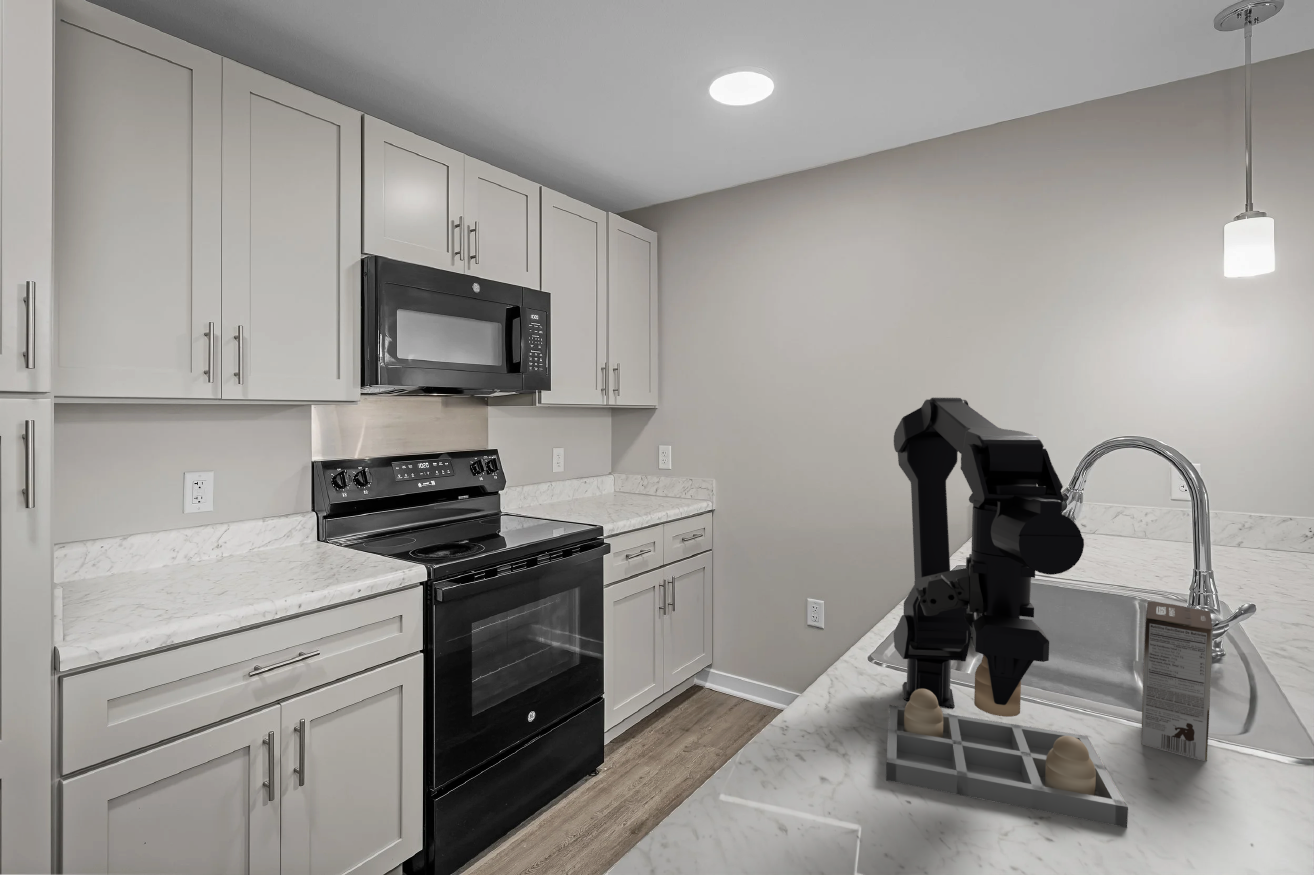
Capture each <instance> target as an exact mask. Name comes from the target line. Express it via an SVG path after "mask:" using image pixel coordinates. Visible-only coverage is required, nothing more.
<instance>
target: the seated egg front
mask: <svg viewBox="0 0 1314 875" xmlns="http://www.w3.org/2000/svg"><path fill="white" fill-rule="evenodd" d="M1095 783H1096V770H1095V766H1094V764H1093V762H1092V760H1091V759H1090V757H1089V752H1088V749H1087V747H1086V746H1085V745H1084V744H1083V742H1081V741H1080V740H1079V739H1077V738H1075V737H1072V736H1062V737H1060V738H1058V739H1057V740H1056V741H1055V743H1054V745H1053V748H1052V749H1051V750H1050V751H1049V753H1048V755H1047V757H1046V774H1045V787H1049V788H1055V789H1060V790H1066V791H1071V792H1077V793H1082V794H1087V795H1093V796H1095Z"/></svg>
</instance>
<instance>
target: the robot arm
mask: <svg viewBox="0 0 1314 875" xmlns="http://www.w3.org/2000/svg"><path fill="white" fill-rule="evenodd" d="M893 434H894V435H893V448H894V451H895V452H896V453H897V459H898V461H897V462H898V466H899V468H900V469H901V470H902V472H903V474H904V475H905V477H907V479H908V481H909V482H910V488H911V489H910V493H911V495H910V496H911V515H912V516H911V518H912V519H911V520H912V541H913V542H912V543H913V566H914V567H913V569H914V582H913V584H914V585H913V587H912V588H911V589H910V591H909V593H908V594H907V596H906V598H905V599H904V602H903V615H901V616H900V619H899V621H898V622H897V625H896V627H895V629H894V631H893V642H894V643H893V645H894V649H895V651H897V653H898V654H899V655H900V656H901V658H902V659H903V660H906V664H907V665H906V681H904V682H903V701H904V702H906V703H908V702H909V701H910V697H911V695H912V693H913V692H914V691H915V690H917V689H927V690H929V691H931V692H932V693H933V694H934V695H935V696H936V698H937V700H938V705H939V707H940V708H945V709H946V708H947V709H952V710H953V709H955V700H954V694H953V690H952V688H951V679H952V678H951V677H952V676H951V673H952V671H951V670H952V661H957V662H958V661H959V662H966V661H967V657H968V653H969V648H970V643H971V642H972V646H973V648H974V650H975V651H974V652H976V653H979V654H981V655H982V657H983V656H986V658H987V664H988V670H989V676H990V682H991V688H992V694H993V699H994V703H995V704H999V705H1006V704H1007V702H1008V701H1009V699H1010V697H1011V696H1012V694H1013V692H1014V691H1015V689H1016V687H1017V686H1018V684H1019V682H1020V681H1021V682H1022V680H1023V678H1024V676H1025V674H1026V673H1027V671H1029V669H1030V667H1031V665H1032V664H1033V662H1040V663H1041V662H1042V663H1044V662H1048V661H1050V660H1049V659H1050V657H1049V656H1050V640H1049V639H1048V637H1047V635H1046V634H1045V632H1044V630H1043V629H1041V627H1040V626H1039V625H1038V624H1036V622H1035V621H1033V619H1028V618H1035V607H1034V606H1033V604H1032V602H1031V594H1032V593H1031V592H1032V591H1031V590H1032V587H1031V586H1032V578H1033V579H1035V578H1036V572H1038V573H1040V574H1045V575H1048V576H1049V575H1058V574H1059V575H1060V574H1062V573H1065V572H1068V571H1069V570H1071V569H1072V568H1073V567H1074V566H1075V565H1076V564H1077V563H1078V562H1079V561H1080V560H1081V557H1082V556H1083V553H1084V548H1085V540H1084V537H1083V535H1082V532H1081V530H1080V528H1079V526H1078V524H1076V523H1075V522H1074V520H1072V519H1071V518H1070V517H1068V516H1066V515H1064V514H1062V513H1063V512H1062V510H1063V503H1064V495H1063V493H1062V489H1063V488H1064V485H1063V483H1062V482H1061V480H1060V477H1059V475H1058V474H1057V472H1056V469H1055V468H1054V465H1053V463H1052V461H1051V459H1050V458H1051V457H1050V455H1049V453H1048V450H1047V448H1046V447H1045V445H1044V444H1043V442H1042V440H1041V439H1040V438H1039V437H1038V436H1037V435H1034V434H1032V433H1028V432H1024V431H1020V430H1013V429H1006V428H1001V427H998V426H996V425H995V424H994V423H993V422H991V420H989V419H987V418H986V417H984V416H983V415H982V414H980V413H979V412H978V411H976V410H975V409H974V408H972V407H971V406H970V404H969V402H968V401H967V400H966V399H962V398H961V397H931V398H930V399H927V398H926V399H925V400H924V402H923V403H922V404H921V407H919V408H917V409H915V410H913V411H911V412H910V413H908V414H906V415H905V416H903V417H902V418H901V420H900V421H899V423H898V425H897V427H896V429H895V430H894V433H893ZM958 453H959V454H960V470H961V472H962V474H963V476H964V478H965V481H966V483H967V485H968V486H969V490H970V491H971V494H970V496H969V497H968V502H969V503H971V504H972V518H971V519H972V520H971V521H972V522H971V552H970V553H969V555H968V556H966V560H965V561H966V562H965V567H962V568H957V569H952V570H951V560H950V543H949V542H950V540H949V539H950V536H949V521H948V520H949V518H948V517H949V515H948V500H947V480H948V478H949V476H950V475H951V473H952V471H953V470H954V468H955V467H956V464H957V463H958ZM967 610H968V612H969V613H968V612H967ZM1021 617H1024V618H1021ZM1025 618H1027V619H1025Z"/></svg>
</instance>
